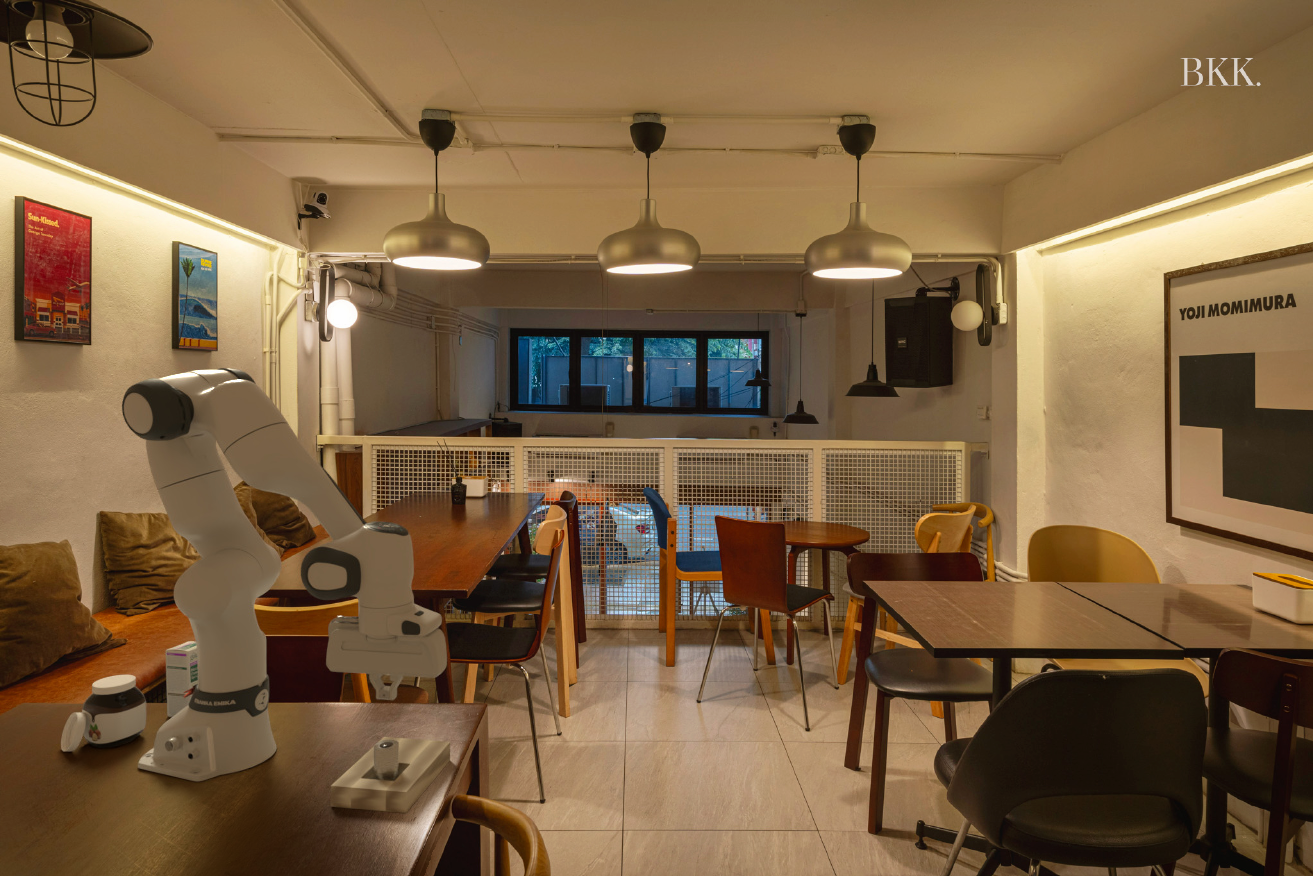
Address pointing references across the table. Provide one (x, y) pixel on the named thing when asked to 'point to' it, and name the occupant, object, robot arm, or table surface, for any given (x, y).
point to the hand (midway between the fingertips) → (386, 698)
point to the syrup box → (180, 675)
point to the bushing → (386, 760)
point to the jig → (415, 775)
